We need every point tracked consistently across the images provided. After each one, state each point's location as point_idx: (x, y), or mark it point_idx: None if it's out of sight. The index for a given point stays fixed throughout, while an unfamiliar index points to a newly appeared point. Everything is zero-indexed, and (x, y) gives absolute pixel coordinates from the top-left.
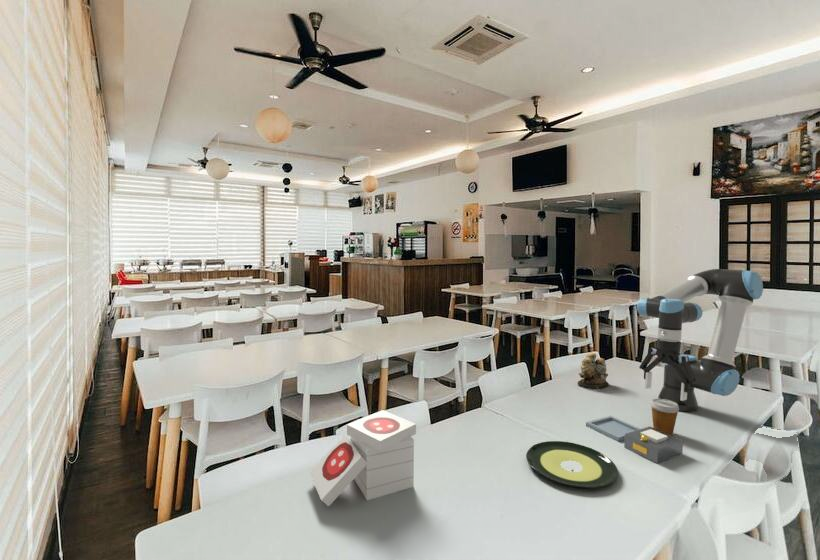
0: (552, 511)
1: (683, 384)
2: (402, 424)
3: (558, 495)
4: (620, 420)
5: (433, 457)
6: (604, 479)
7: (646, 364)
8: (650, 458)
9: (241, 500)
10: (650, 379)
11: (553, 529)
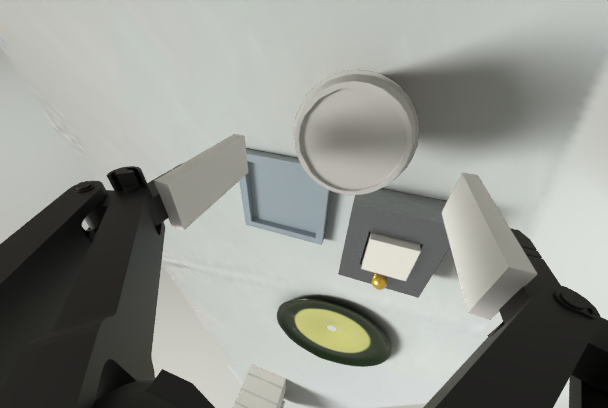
0: (369, 379)
1: (486, 311)
2: None
3: None
4: (266, 159)
5: (255, 353)
6: (377, 342)
7: (75, 218)
8: None
9: None
10: (212, 167)
11: (383, 392)
